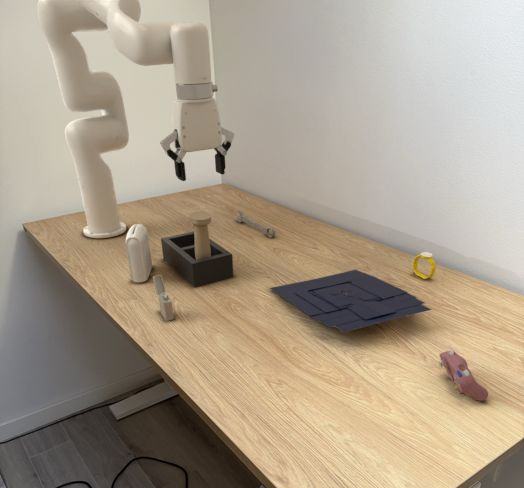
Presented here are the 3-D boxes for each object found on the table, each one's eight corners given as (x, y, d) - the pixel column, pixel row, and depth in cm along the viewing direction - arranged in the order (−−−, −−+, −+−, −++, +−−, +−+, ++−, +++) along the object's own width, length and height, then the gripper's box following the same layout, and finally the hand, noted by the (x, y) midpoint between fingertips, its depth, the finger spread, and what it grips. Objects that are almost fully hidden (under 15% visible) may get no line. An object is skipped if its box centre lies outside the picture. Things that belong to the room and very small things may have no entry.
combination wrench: (275, 227, 147) (238, 207, 160) (271, 227, 146) (235, 208, 160) (275, 239, 149) (238, 219, 162) (271, 240, 148) (235, 220, 162)
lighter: (174, 319, 109) (169, 285, 105) (166, 321, 108) (161, 286, 104) (164, 305, 114) (159, 272, 110) (156, 306, 114) (152, 273, 110)
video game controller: (442, 376, 93) (431, 348, 89) (466, 365, 92) (456, 337, 88) (465, 411, 85) (453, 382, 81) (491, 400, 84) (481, 370, 80)
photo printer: (137, 266, 133) (129, 219, 126) (153, 266, 133) (147, 219, 126) (130, 283, 124) (121, 234, 117) (147, 283, 124) (140, 234, 117)
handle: (209, 267, 131) (205, 210, 123) (218, 277, 126) (214, 218, 118) (191, 271, 130) (186, 212, 122) (199, 281, 125) (193, 221, 117)
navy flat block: (335, 348, 96) (335, 330, 94) (269, 299, 121) (268, 284, 119) (438, 320, 104) (439, 303, 103) (356, 279, 129) (356, 265, 127)
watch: (409, 274, 126) (412, 251, 123) (416, 271, 127) (420, 248, 124) (427, 282, 122) (431, 259, 119) (435, 279, 123) (440, 256, 120)
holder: (163, 259, 136) (160, 238, 133) (199, 251, 141) (197, 230, 137) (194, 287, 122) (192, 263, 119) (233, 276, 126) (232, 254, 123)
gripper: (222, 88, 113) (227, 167, 123) (148, 94, 106) (159, 178, 115) (239, 90, 108) (242, 174, 117) (162, 97, 101) (172, 186, 110)
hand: (201, 176), depth 116 cm, fingers open, 9 cm apart
